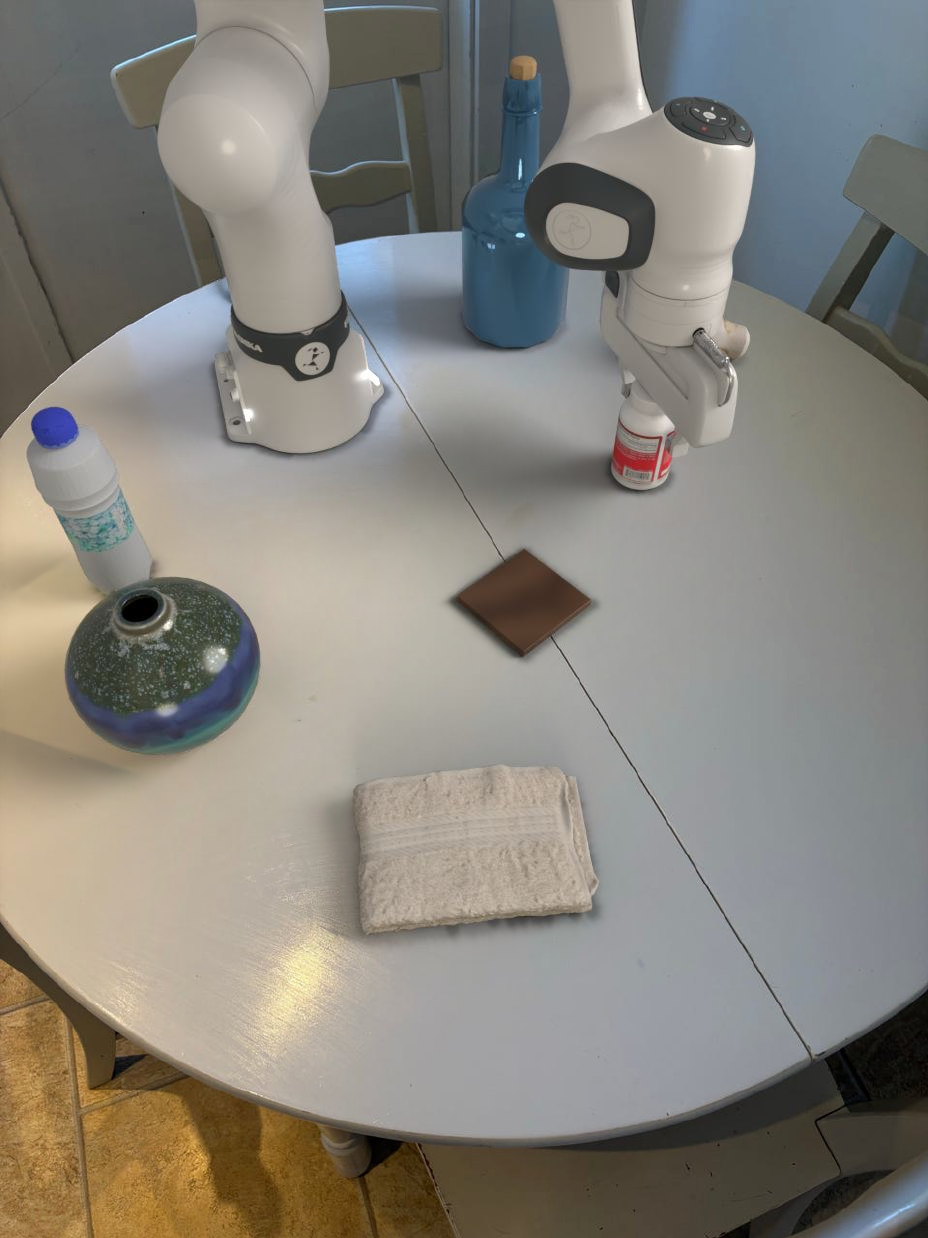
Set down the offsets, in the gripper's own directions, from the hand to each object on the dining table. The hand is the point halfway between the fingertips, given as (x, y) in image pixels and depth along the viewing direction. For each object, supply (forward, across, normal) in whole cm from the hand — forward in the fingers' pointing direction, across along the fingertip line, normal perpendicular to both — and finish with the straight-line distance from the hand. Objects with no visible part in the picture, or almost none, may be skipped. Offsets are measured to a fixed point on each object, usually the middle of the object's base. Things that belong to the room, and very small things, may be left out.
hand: (652, 424), depth 91 cm
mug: (+7, +16, -17) cm, 24 cm away
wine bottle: (+6, +31, +2) cm, 32 cm away
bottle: (+6, +5, +54) cm, 55 cm away
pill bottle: (+7, 0, +1) cm, 7 cm away
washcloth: (+6, -34, +33) cm, 48 cm away
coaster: (+6, -12, +19) cm, 24 cm away
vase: (+6, -12, +52) cm, 53 cm away
